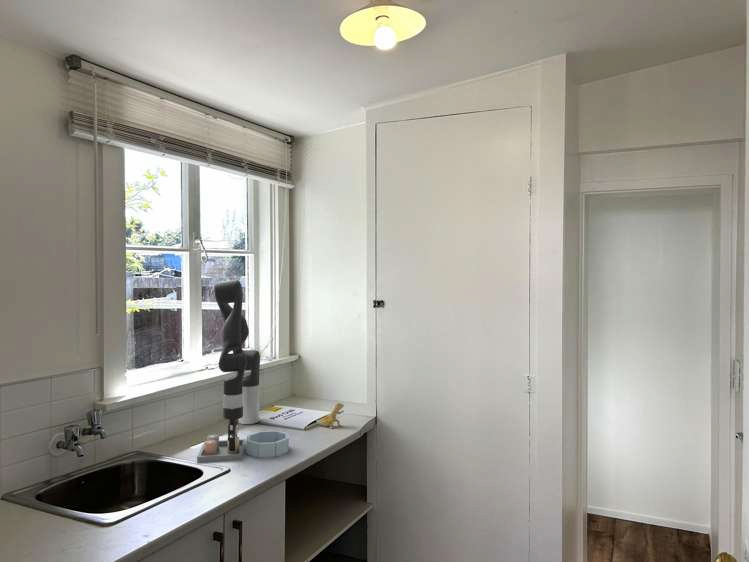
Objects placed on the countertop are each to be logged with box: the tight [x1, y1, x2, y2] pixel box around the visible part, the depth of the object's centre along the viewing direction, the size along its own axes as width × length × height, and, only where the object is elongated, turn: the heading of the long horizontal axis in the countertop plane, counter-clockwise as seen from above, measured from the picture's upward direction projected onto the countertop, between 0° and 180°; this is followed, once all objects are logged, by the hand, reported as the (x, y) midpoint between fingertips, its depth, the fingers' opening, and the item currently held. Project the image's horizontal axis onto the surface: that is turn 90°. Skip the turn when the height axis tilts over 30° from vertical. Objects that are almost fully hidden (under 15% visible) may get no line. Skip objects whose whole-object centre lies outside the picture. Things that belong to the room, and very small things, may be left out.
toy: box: [316, 402, 345, 430], centre depth 238 cm, size 7×15×10 cm, turn 74°
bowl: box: [245, 429, 290, 459], centre depth 206 cm, size 16×16×6 cm
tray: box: [196, 438, 247, 463], centre depth 203 cm, size 18×16×2 cm
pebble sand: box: [226, 435, 240, 454], centre depth 204 cm, size 4×4×6 cm
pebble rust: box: [203, 440, 217, 456], centre depth 199 cm, size 4×4×6 cm
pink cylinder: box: [206, 434, 220, 451], centre depth 206 cm, size 4×4×6 cm
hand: (233, 447), depth 204 cm, fingers open, 8 cm apart
